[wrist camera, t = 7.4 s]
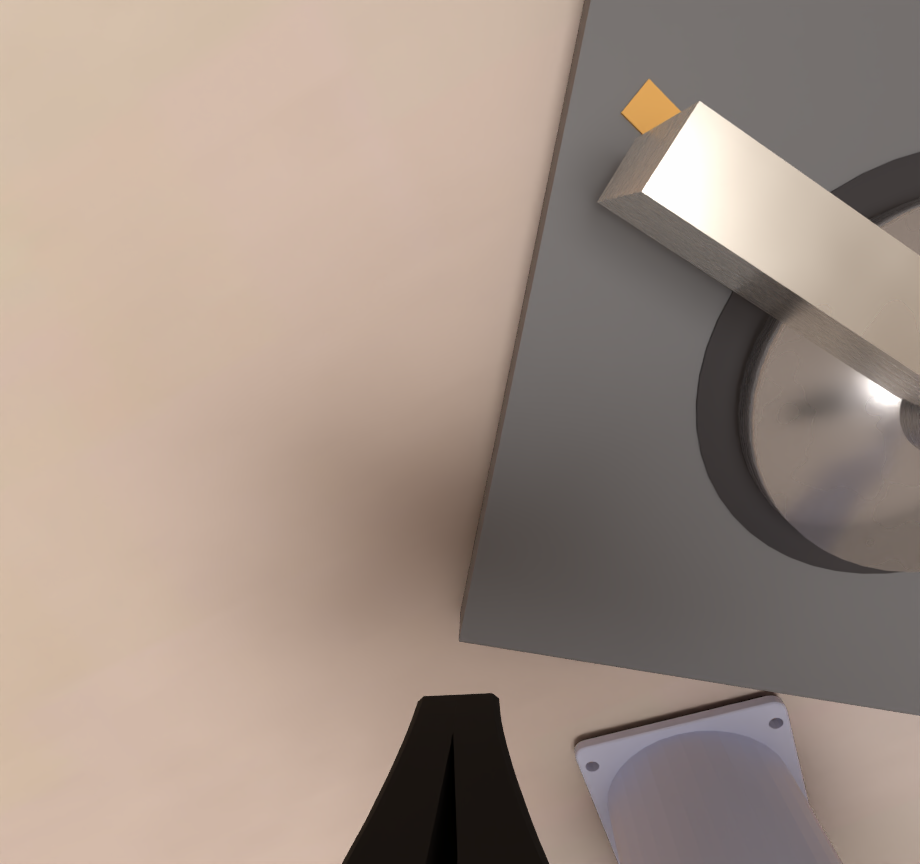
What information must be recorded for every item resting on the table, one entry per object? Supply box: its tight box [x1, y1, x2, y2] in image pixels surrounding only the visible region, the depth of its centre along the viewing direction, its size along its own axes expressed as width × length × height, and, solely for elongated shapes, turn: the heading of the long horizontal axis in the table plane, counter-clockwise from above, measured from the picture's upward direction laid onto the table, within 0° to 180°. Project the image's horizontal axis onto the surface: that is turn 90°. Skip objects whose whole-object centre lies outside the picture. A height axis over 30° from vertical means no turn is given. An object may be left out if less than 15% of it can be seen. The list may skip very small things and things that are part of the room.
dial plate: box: [459, 0, 920, 716], centre depth 16 cm, size 22×22×2 cm
